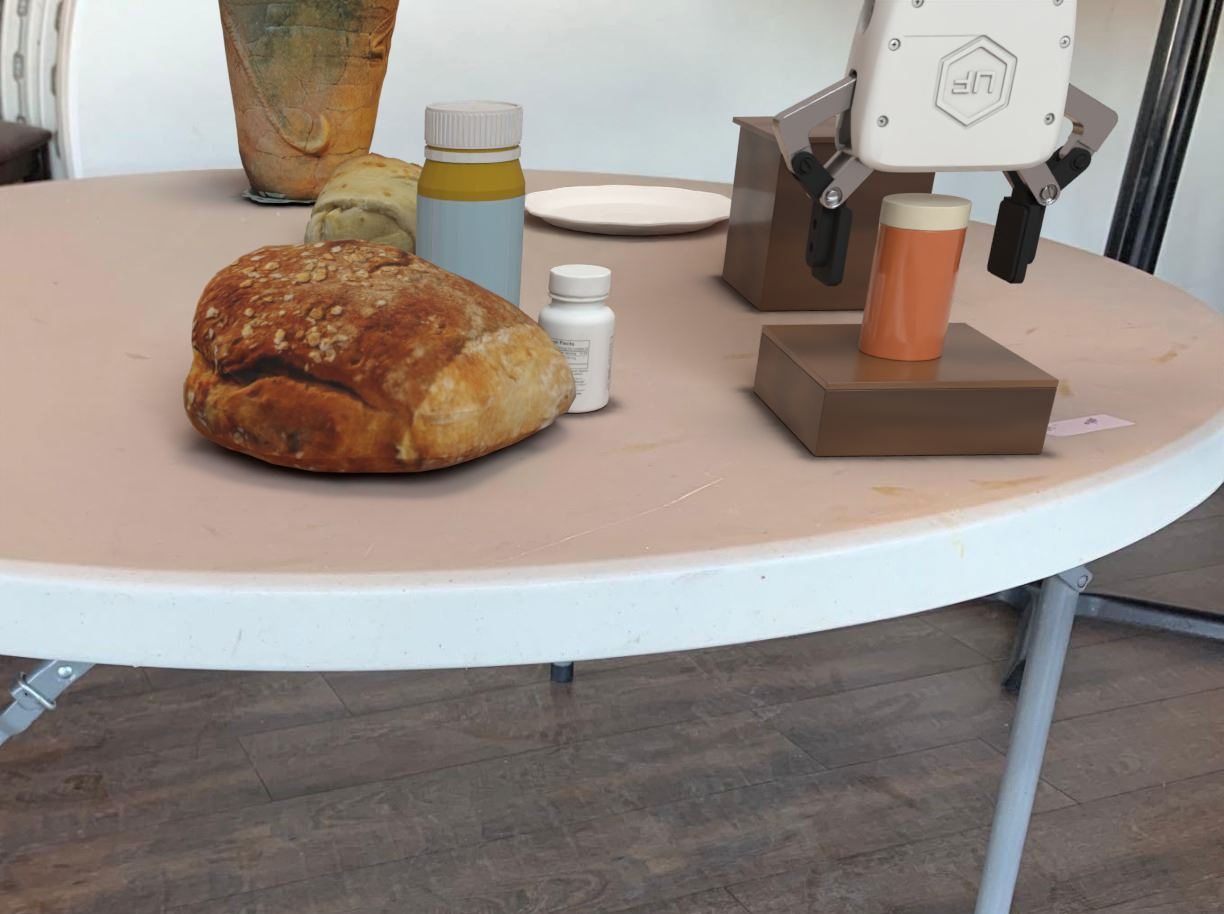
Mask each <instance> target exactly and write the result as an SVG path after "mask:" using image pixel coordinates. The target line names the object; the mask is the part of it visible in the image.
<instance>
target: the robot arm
mask: <svg viewBox="0 0 1224 914" xmlns="http://www.w3.org/2000/svg"><path fill="white" fill-rule="evenodd" d="M1077 7H1078V0H863V3H862V7H861V9H860V12H859V15H858V19H857V23H856V26H855V31H854V34H853V38H852V42H851V46H850V50H849V54H848V59H847V63H846V68H845V72H844V76H843V78H842V79H840V80H838V81H836V82H835V83H833V84H831V85H829V86H827V87H825V88H824V89H821V90H819V91H818V92H815V93H814V94H812V95H810V96H807V98H805V99H803V100H800V101H798V102H797V103H795V104H793V105H791V106H789V107H788V108H785V109H784V110H782V111H780V112H778V113H777V114H776V115H774V116H775V117H774V118H773V120H772V128H773V131H774V133H775V136H776V139H777V142H778V144H779V147H780V150H781V153H782V154H783V157H784V159H785V166H786V168H787V170H788V171H789V172H790V173H791V175H792V176H793V177H794V178H795V179H796V181H797V182H798V183H799V184H800V185H801V187H802V188H803V189H804V190H805V191H806V194H807V196H808V197H809V198H810V199H812V200H813V206H812V213H811V220H810V227H809V234H808V241H807V248H806V264H807V265H808V266H809V267H811V274H812V276H813V277H814V278H816V279H817V280H819V281H820V282H821V283H823V284H824V285H826V286H838V284H841V283H842V280H843V274H844V268H845V262H846V255H847V249H848V243H849V236H850V230H851V224H852V217H853V213H852V210H851V209H849V208H847V207H846V201H847V198H848V197H849V196H850V195H851V194H852V193H853V192H854V191H855V190H856V188H857V187H858V186H859V185H860V184H861V183H862V182H863V181H864V180H865V179H866V178H867V177H868V176H869V175H870V174H871V173H872V172H873V171H874V170H875V169H876V170H879V171H885V172H936V173H972V172H973V173H974V172H976V173H977V172H1002V174H1003V176H1004V178H1005V179H1006V180H1007V182H1008V184H1009V186H1010V187H1011V194H1010V196H1009V195H1008V196H1005V195H1004V196H1003V199H1002V200H1001V201H1000V203H999V205H998V206H999V207H998V209H997V210H998V211H997V215H996V216H997V217H996V221H995V226H994V231H993V235H992V240H991V245H990V250H989V253H988V254H989V255H988V260H987V263H986V264H987V265H986V270H987V272H988V273H990V274H991V275H993V276H995V277H996V278H999V279H1000V280H1002V281H1004V282H1006V283H1009V284H1011V285H1012V284H1014V285H1015V284H1017V285H1019V284H1020V285H1021V284H1023V283H1024V281H1025V278H1026V276H1027V275H1026V274H1027V270H1028V265H1031V264H1033V262H1034V261H1035V258H1036V255H1037V251H1038V245H1039V241H1040V237H1041V232H1042V227H1043V224H1044V219H1045V214H1046V209H1047V206H1051V205H1053V204H1054V203H1056V201H1058V200H1059V197H1060V195H1061V192H1062V191H1063V190H1064V189H1066V187H1067V186H1069V185H1070V184H1071V183H1072V182H1073V181H1074V180H1076V179H1077V178H1078V177H1079V176H1080V175H1081V174H1083V173H1084V172H1085V171H1086V170H1087V169H1088V168H1089V167H1090V165H1091V162H1092V157H1093V155H1095V153H1097V152H1098V151H1099V150H1100V148H1101V147H1102V146H1103V144H1104V143H1105V141H1106V140H1107V138H1108V137H1109V135H1110V134H1111V133H1112V131H1113V130H1114V129H1115V127H1117V124H1118V122H1119V115H1118V113H1117V112H1116V111H1115V110H1113V108H1110V107H1109V106H1107V105H1106V104H1104V103H1103V102H1101V101H1099V100H1097V99H1096V98H1094V97H1093V96H1091V95H1089V94H1088V93H1086V92H1085V91H1083V90H1082V89H1080V88H1078V87H1077V86H1075V85H1074V84H1072V83H1070V78H1071V77H1070V76H1071V72H1072V71H1071V69H1072V62H1073V54H1074V45H1075V37H1076V36H1075V35H1076V24H1077V10H1078V9H1077ZM834 116H837V119H836V128H835V146H836V149H837V152H836V153H835V154H834V155H833V156H832V158H831V159H830V160H829V161H828V162H827V163H826V164H825V165H824V166H823V165H822V164H821V163H820V162H819V160H818V159H817V158H816V157H815V156H814V155H813V152H812V149H811V147H810V145H811V144H810V142H809V133H810V131H811V130H812V128H814V127H815V126H817V125H819V124H821V123H823V122H824V121H826V120H828V119H830V118H832V117H834ZM1064 118H1066V119H1067V120H1069V121H1070V122H1071V123H1072V129H1071V131H1070V134H1069V135H1068V137H1067V140H1066V141H1065V143H1064V144H1063V145H1060V146H1059V147H1058V148H1057V145H1058V142H1059V139H1060V135H1061V130H1062V125H1063V121H1064ZM1056 148H1057V149H1056Z"/></svg>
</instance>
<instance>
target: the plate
mask: <svg viewBox="0 0 1224 914" xmlns="http://www.w3.org/2000/svg"><path fill="white" fill-rule="evenodd" d="M731 200H732V198H729V197H727V196H725V195H723V194H719V193H715V192H709V191H700V190H692V189H688V188H687V189H686V188H681V187H672V186H671V187H670V186H650V185H649V186H648V185H647V186H646V185H645V186H644V185H633V184H632V185H630V184H604V185H586V186H585V185H579V186H577V185H576V186H575V185H574V186H565V187H558V188H553V189H547V190H540V191H533V192H530V193H527V194H525V211H527V212H528V213H529V214H530V215H532V216H536V217H538V218H541V219H542V220H544V221H545V222H546V223H548V224H550V225H552V226H555V227H558V228H561V229H562V228H563V229H567V230H571V231H576V232H585V233H591V234H600V235H614V236H616V235H617V236H662V235H674V234H684V233H691V232H697V231H701V230H703V229H707V228H709V227H712V226H713V225H714V224H715V223H717V222H721V221H724V220H729V216H730V208H731Z"/></svg>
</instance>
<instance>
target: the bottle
mask: <svg viewBox="0 0 1224 914" xmlns="http://www.w3.org/2000/svg"><path fill="white" fill-rule="evenodd" d="M523 120H524V108H523V105H522V104H521V103H517V102H511V101H500V100H499V101H498V100H451V101H438V102H433V103H428V104H426V105H425V109H424V132H423V133H424V134H423V139H424V142H425V144H426V145H424V150H423V151H424V152H423V156H424V158H425V160H424V163H423V166H422V167H423V169H422V171H421V174H420V177H419V180H418V183H417V205H416V256H418V257H420V258H422V259H424V260H426V261H428V262H430V263H432V264H434V265H436V266H438V267H440V268H442V269H444V270H447V271H449V272H451V273H454V274H456V275H459V276H461V277H463V278H466V279H468V280H470V281H472V282H474V283H476V284H478V285H480V286H481V287H483V288H485V289H487V290H489V291H491V292H493V293H495V294H497V295H498V296H500V297H502V298H504V299H506V300H507V301H509V302H510V303H512V304H514V305H515V306H517V307H518V308H519V309H520V305H521V304H520V302H521V285H522V284H521V283H522V267H523V265H522V264H523V249H524V248H523V247H524V228H525V227H524V225H525V211H526V210H525V196H526V179H525V176H524V173H523V169H522V164H521V162H520V158H521V155H522V146H521V145H520V144H521V141H523V122H524V121H523Z"/></svg>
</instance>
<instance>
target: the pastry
mask: <svg viewBox="0 0 1224 914" xmlns="http://www.w3.org/2000/svg"><path fill="white" fill-rule="evenodd" d="M422 169H423V166H421V165H420V164H418V163H414V162H410V163H409V162H407V161H404V160H403V159H399V158H396V157H388V156H384V155H383V154H379V153H376V152H373V151H372V152H369V154H365V155H360V156H356V157H352V158H349V159H347V160H344V161H342V162H341V163H339V164H338V165H337V166H336V167H335V168H334V169H333V170H332V173H331V175H330V177H329V179H328V181H327V182H326V184H325V186H324V188H323V190H322V191H321V192H320V194H319V196H318V198H317V201H316V202H314V205H313V208H312V210H311V213H310V219H309V220H308V222H307V224H306V228H305V233H304V238H303V239H304V240H303V244H306V243H315V242H320V241H326V240H331V239H361V240H365V241H368V242H372V243H376V244H385V245H390V246H393V247H395V248H398V249H401V250H403V251H406V252H408V253H411V254H414V255H416V205H417V183H418V180H419V177H420V174H421V171H422Z"/></svg>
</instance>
